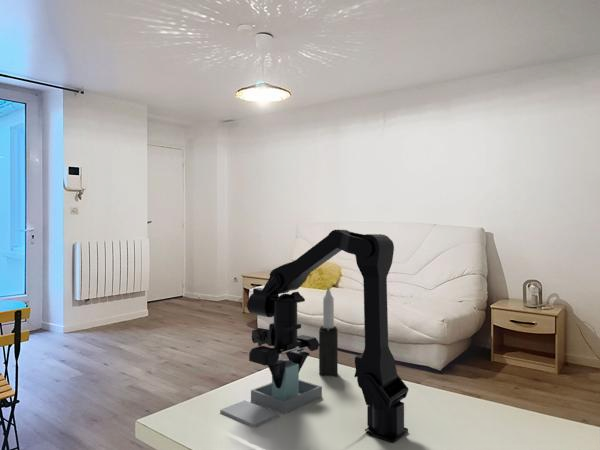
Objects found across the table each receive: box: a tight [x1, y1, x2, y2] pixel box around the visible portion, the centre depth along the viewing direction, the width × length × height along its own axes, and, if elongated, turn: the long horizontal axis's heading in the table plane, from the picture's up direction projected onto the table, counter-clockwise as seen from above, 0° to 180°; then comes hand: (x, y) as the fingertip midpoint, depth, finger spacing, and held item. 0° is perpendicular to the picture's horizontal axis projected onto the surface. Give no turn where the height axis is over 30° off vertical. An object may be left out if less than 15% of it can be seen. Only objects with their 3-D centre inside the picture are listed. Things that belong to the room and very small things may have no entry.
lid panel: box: [219, 400, 279, 429], centre depth 92 cm, size 11×7×1 cm, turn 49°
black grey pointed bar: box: [318, 285, 339, 378], centre depth 120 cm, size 5×5×25 cm
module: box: [271, 358, 300, 401], centre depth 102 cm, size 4×4×9 cm
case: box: [250, 379, 323, 414], centre depth 102 cm, size 12×13×3 cm
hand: (285, 385), depth 102 cm, fingers closed on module, 4 cm apart
